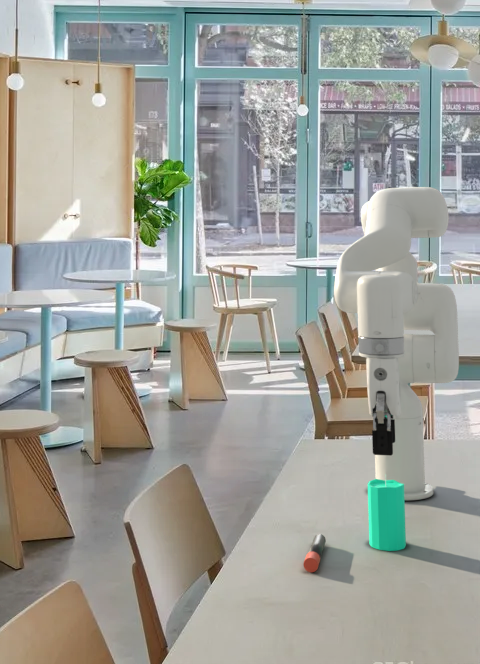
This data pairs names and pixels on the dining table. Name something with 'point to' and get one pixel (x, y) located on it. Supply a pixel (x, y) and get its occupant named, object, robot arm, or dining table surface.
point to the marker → (314, 553)
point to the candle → (386, 515)
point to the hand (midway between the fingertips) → (384, 448)
